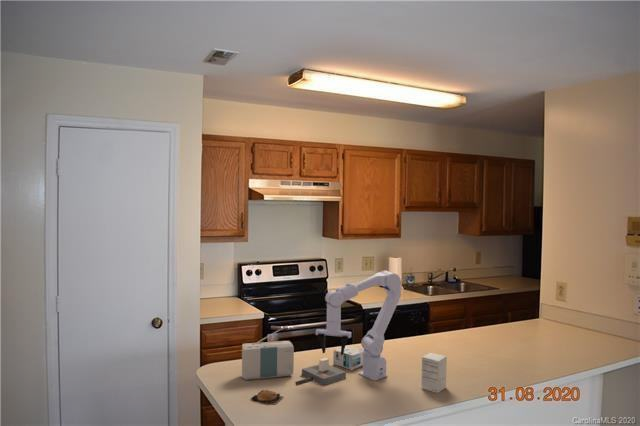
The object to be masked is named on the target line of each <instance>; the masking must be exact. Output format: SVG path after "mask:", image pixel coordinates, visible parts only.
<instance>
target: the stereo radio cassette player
mask: <svg viewBox="0 0 640 426" xmlns="http://www.w3.org/2000/svg"><path fill="white" fill-rule="evenodd" d="M286 327H287V328H288V325H285V326H284V327H282V328H280V329H277V330H276V331H275V332H272V333H270V334H269V335H268V336H265V337H263V338H261V339H260V340H258V341H257V342H250V343H249V342H248V343H247V342H246V343H242V345H241V347H242V348H241V376H242V379H244V380H245V381H247V380H258V379H259V380H260V379H267V378H268V379H269V378H279V377H291V376H292V375H293V374H294V370H295V369H294V364H295V363H294V362H295V361H294V360H295V359H294V357H295V356H294V354H295V353H294V351H295V349H294V348H295V347H294V345H293V343H292V342H291V341H290V340H279V341H267V342H264V340H266V339H268V338H270V337H271V336H272V335H274V334H277V333H278V332H280V331H281V330H282V329H284V328H286Z"/></svg>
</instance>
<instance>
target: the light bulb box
mask: <svg viewBox="0 0 640 426" xmlns="http://www.w3.org/2000/svg"><path fill="white" fill-rule="evenodd" d="M363 351H364V348H359V347H355V346H352V345H347V344H346V345H345V349H344V354H343V355H341V347H338V348H336V349H334V350H333V356H332V357H333V360H332V361H333V362H332V364H333V365H335V366H337V367H341V368H344V369H346V370H350V371H354V370H355V369H358V368H360V367H363Z"/></svg>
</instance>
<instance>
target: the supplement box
mask: <svg viewBox="0 0 640 426" xmlns="http://www.w3.org/2000/svg"><path fill="white" fill-rule="evenodd" d="M446 388H447V356H446V355H442V354H437V353H434V352H429V353H427V354H425V355H423V356H421V389H422V390H425V391H429V392H433V393H436V394H439V393H441V392H442V391H443V390H445V389H446Z"/></svg>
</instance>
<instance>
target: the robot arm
mask: <svg viewBox="0 0 640 426" xmlns="http://www.w3.org/2000/svg"><path fill="white" fill-rule="evenodd" d="M402 283H403V282H402V280H401V277H400V276H399V274H397V273H394V272H391V271H389V270H386V269H385V270H381V271H380V272H379V271H378V272H376V273H375V274H373V275H371V276H369V277H367V278H365V279H364V280H361V281H359V282H357V283H356V284H355V283H353V282H351V283H350V282H347V283H345V285H343V286H340V287H337V288H335V290H333V289H331V290H329V291H328V292H327V293H326V294H325V297H324V300H325V302H326V328H325V329H324V328H317V329H315V336H317V340H318V342H319V343H320V344H319V345H320V347H321V351H322V354H325V353H326V350H327V349H326V348H327V347H326V341H327V340H326V339H327V336H331V337H340V346H341V347H340V348H341V355H343V354H344V349H345V346H347V343H348V341H349V339H351V338H352V331H347V330H341V329H342V328H341V326H342V325H341V320H342V318H341V317H342V315H341V314H342V313H341V312H342V311H341V310H342V309H341V308H342V306H341V305H343V303H344V302H347V301H349V300H350V299H354V298H356V297H358V296H359V295H358V294H359V292H362V291H365V290H367V289H370V288H372V287H374V286H381V287H383V289H384V290H385V293H386V296H385V299H384V301H383V303H382V305H381V309H380V310H379V312H378V315H377V317H376V319H375V321H374V324H373V325H372V328H371V329H369V330H368V331H367V332H366V335H364V336H363V338H362V339H361V341H360V343H361V347H362V349H363V350H364V351H363V366H362V371H360V372H358V375H361V376H362V377H365V378H368V379H369V380H372V381H376V380H380V379H383V378H386V377H387V376H388V374H387V361H386V358H385V357H383V356H382V353H383V350H384V343H385V335H384V334H385V333H386V330H387V329H388V325H389V324H390V323H391V322H390V321H391V319H392V317H393V314H394V312H395V310H396V308H397V306H398V304H399V301H400V300H401V296H402V288H401V287H402V286H401V285H402Z"/></svg>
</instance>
